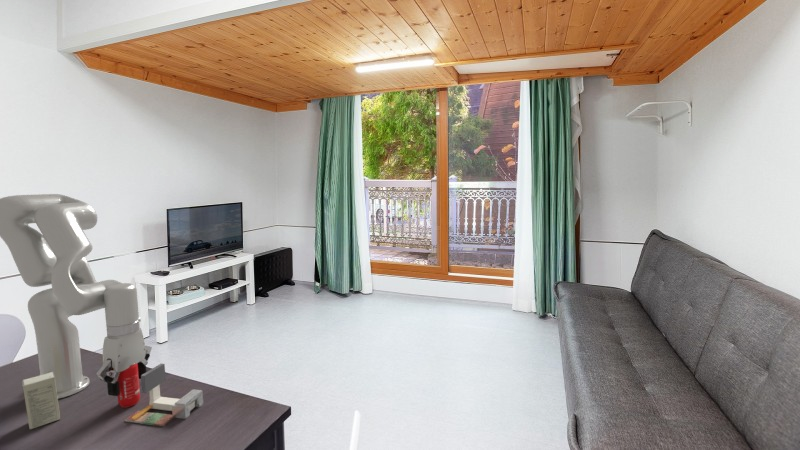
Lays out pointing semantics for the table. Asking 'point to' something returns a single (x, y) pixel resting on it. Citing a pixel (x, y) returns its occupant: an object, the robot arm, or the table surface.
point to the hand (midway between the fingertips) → (128, 386)
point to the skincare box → (41, 400)
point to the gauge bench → (178, 410)
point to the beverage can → (129, 386)
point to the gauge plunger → (156, 391)
